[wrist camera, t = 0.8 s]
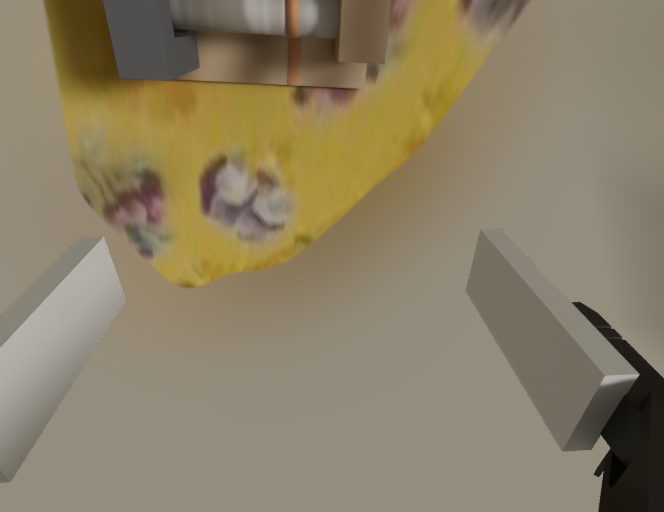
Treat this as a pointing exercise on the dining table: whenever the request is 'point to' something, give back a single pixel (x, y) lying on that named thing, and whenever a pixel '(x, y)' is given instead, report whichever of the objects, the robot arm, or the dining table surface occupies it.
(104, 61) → the dining table surface
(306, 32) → the pipe rig
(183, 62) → the dark grey flat block
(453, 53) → the dining table surface
